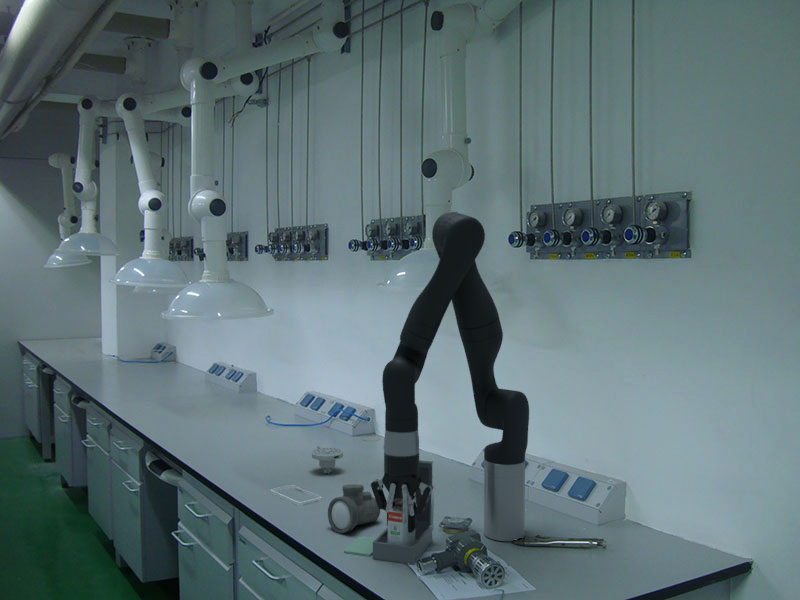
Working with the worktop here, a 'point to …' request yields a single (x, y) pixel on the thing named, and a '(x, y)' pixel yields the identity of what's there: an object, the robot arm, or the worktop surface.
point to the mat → (361, 546)
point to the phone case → (273, 491)
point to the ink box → (400, 523)
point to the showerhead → (327, 457)
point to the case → (422, 530)
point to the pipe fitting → (352, 509)
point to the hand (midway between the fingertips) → (401, 529)
